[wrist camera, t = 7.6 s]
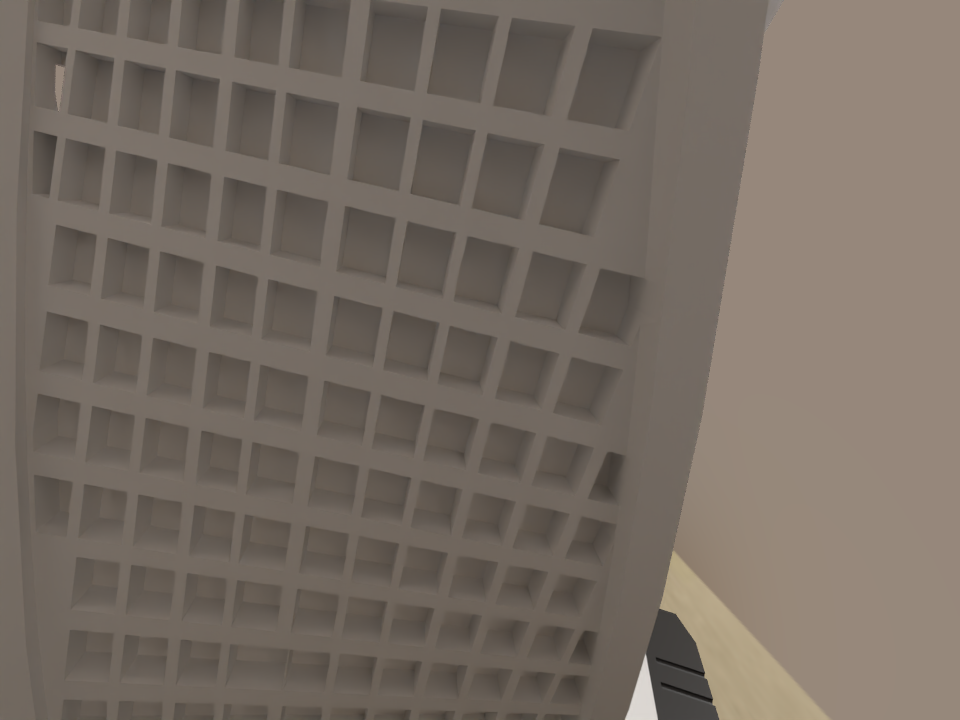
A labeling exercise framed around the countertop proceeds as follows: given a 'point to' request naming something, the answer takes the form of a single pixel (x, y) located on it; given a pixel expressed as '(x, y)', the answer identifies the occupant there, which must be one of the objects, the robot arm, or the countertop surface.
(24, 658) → the skyscraper
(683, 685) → the robot arm
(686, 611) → the countertop surface
